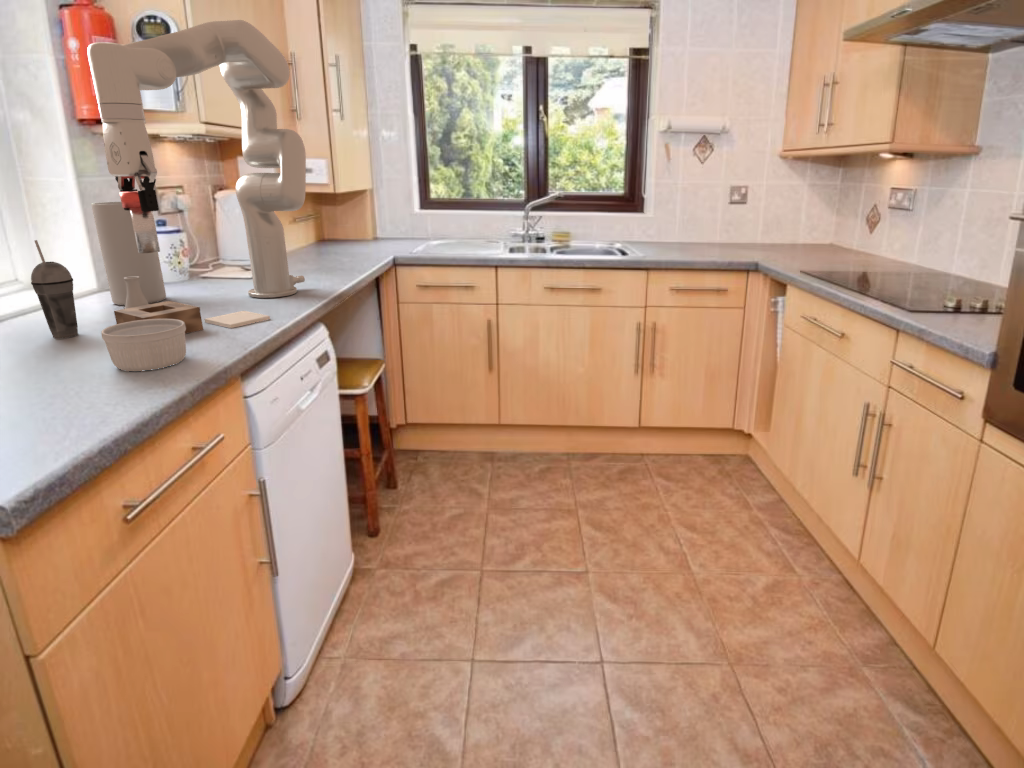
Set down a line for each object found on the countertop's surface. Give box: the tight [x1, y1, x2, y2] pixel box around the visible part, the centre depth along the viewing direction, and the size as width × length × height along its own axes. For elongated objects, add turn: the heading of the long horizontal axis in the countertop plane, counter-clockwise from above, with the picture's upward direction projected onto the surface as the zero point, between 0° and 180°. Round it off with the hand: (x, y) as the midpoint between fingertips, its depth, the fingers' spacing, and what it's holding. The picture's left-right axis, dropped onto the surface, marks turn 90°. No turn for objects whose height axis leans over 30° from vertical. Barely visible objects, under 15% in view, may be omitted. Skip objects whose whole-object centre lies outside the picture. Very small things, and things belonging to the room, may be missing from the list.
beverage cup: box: [30, 239, 79, 339], centre depth 133 cm, size 7×7×20 cm
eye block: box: [113, 300, 204, 335], centre depth 138 cm, size 12×12×5 cm
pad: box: [204, 310, 271, 329], centre depth 147 cm, size 10×10×1 cm
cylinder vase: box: [91, 201, 167, 306], centre depth 165 cm, size 12×12×25 cm
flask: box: [124, 276, 149, 309], centre depth 147 cm, size 7×7×10 cm
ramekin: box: [100, 319, 187, 372], centre depth 116 cm, size 13×13×7 cm
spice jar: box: [119, 190, 161, 253], centre depth 131 cm, size 6×6×12 cm
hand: (141, 209), depth 131 cm, fingers closed on spice jar, 6 cm apart
